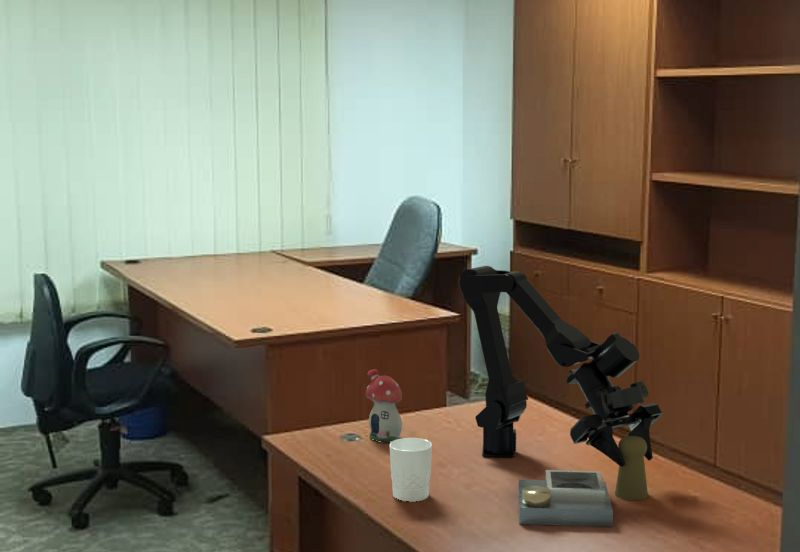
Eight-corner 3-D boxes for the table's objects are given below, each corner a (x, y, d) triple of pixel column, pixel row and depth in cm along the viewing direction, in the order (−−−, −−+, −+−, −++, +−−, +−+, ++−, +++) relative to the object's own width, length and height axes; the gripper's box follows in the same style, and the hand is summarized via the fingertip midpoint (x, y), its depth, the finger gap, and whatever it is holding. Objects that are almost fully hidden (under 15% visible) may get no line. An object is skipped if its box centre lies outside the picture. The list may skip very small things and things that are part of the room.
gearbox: (519, 524, 184) (519, 496, 183) (518, 494, 198) (518, 469, 197) (612, 527, 183) (613, 499, 182) (605, 497, 196) (605, 471, 196)
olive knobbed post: (610, 489, 200) (612, 433, 199) (642, 487, 201) (643, 432, 199) (620, 500, 195) (621, 443, 193) (652, 499, 195) (654, 442, 193)
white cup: (437, 490, 200) (437, 440, 199) (424, 505, 193) (424, 453, 191) (398, 486, 203) (397, 436, 201) (384, 500, 196) (383, 448, 194)
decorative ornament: (361, 434, 235) (360, 369, 232) (386, 429, 238) (385, 364, 236) (382, 445, 227) (382, 378, 224) (408, 440, 230) (408, 373, 228)
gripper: (581, 375, 193) (620, 450, 185) (657, 362, 202) (698, 432, 194) (553, 406, 201) (590, 479, 193) (627, 392, 210) (665, 461, 202)
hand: (637, 462), depth 196 cm, fingers open, 6 cm apart
